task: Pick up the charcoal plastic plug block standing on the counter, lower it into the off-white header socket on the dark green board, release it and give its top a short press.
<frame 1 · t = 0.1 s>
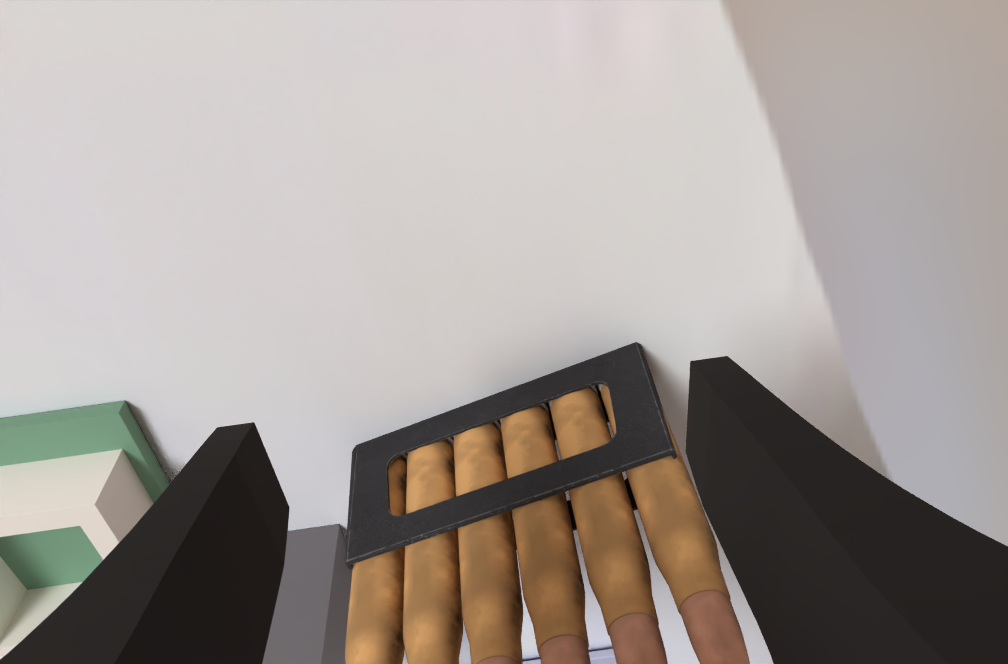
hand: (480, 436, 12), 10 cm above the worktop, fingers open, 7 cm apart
plug: (306, 559, 28), on the worktop
ammunition clip: (500, 410, 25), on the worktop
board: (72, 520, 26), on the worktop
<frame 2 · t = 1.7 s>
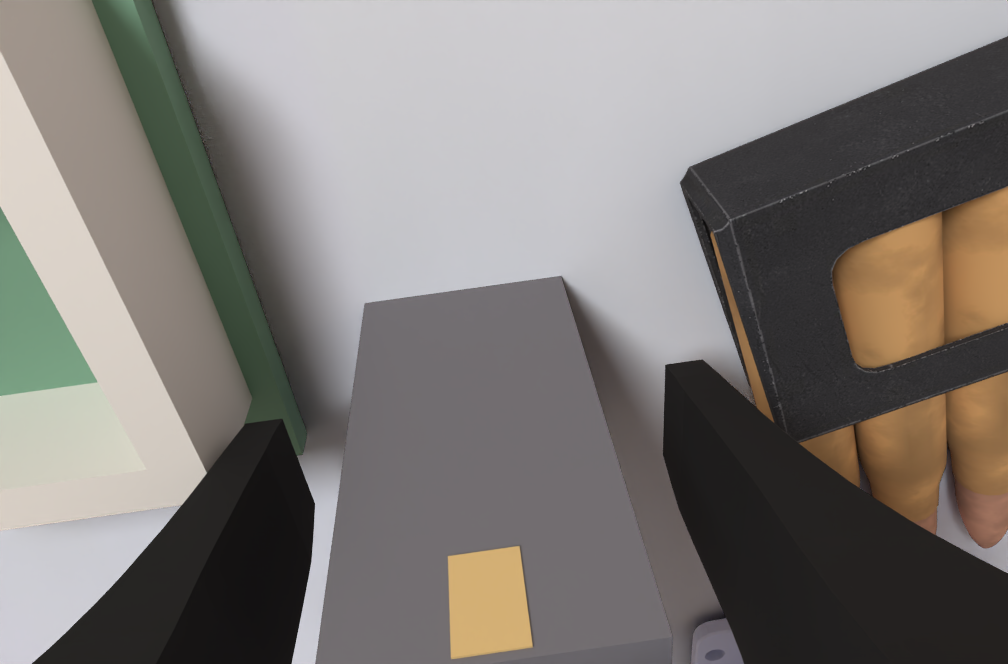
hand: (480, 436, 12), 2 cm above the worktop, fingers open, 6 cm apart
plug: (475, 367, 14), on the worktop
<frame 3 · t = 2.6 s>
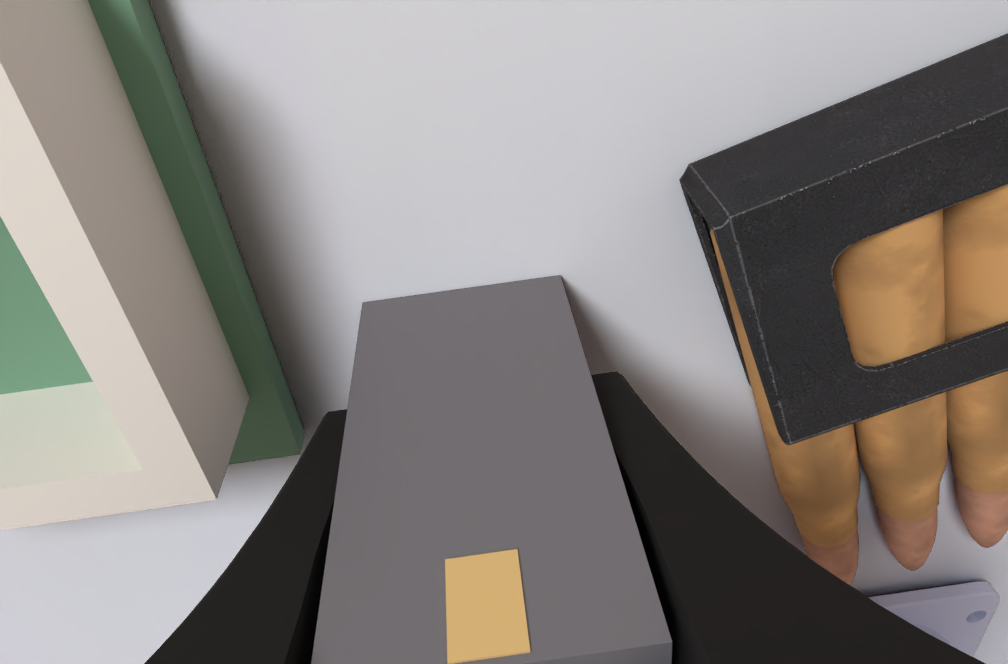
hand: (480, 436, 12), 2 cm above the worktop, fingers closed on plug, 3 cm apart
plug: (474, 367, 14), on the worktop, touching gripper
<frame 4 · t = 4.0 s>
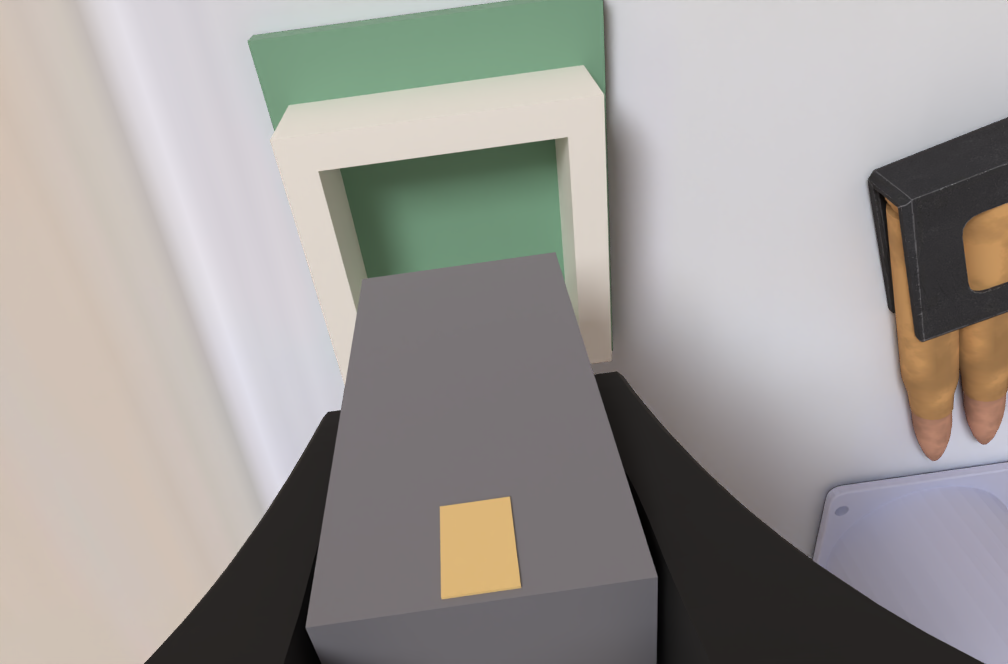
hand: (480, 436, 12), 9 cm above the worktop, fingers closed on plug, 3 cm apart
plug: (472, 344, 14), point 7 cm above the worktop, touching gripper
board: (457, 210, 19), on the worktop
when the fingers open (4 cm above the worktop, at t = 5.7 s): plug stays where it is, resting on board.
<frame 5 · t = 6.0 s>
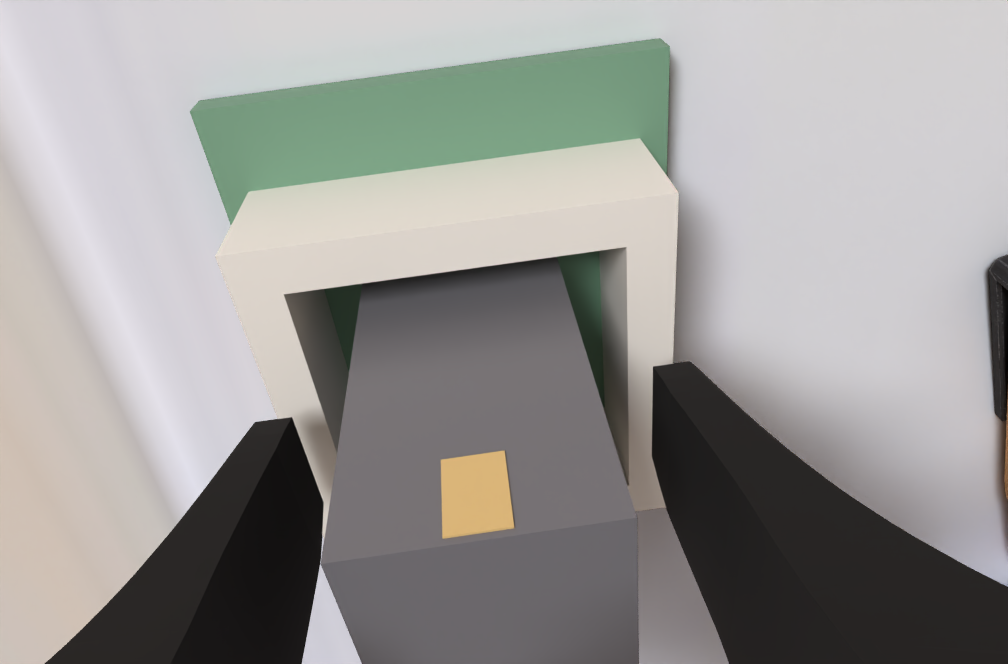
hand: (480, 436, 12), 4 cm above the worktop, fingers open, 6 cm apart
plug: (470, 320, 15), point 1 cm above the worktop, touching board
board: (469, 310, 15), on the worktop
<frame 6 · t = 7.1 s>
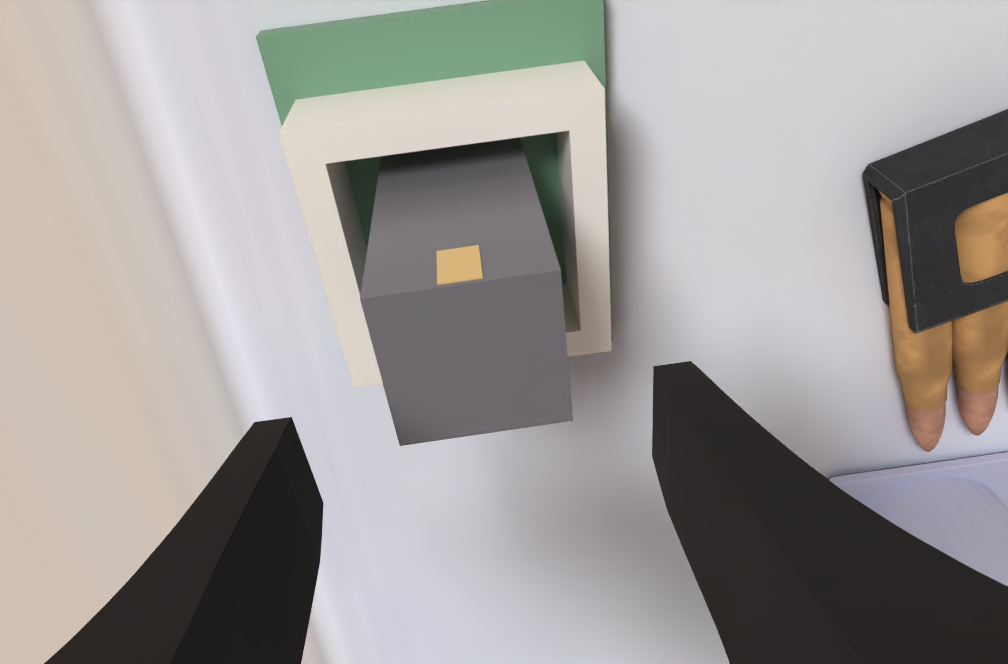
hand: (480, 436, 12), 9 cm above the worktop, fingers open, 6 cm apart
plug: (460, 206, 19), point 1 cm above the worktop, touching board
board: (460, 203, 20), on the worktop
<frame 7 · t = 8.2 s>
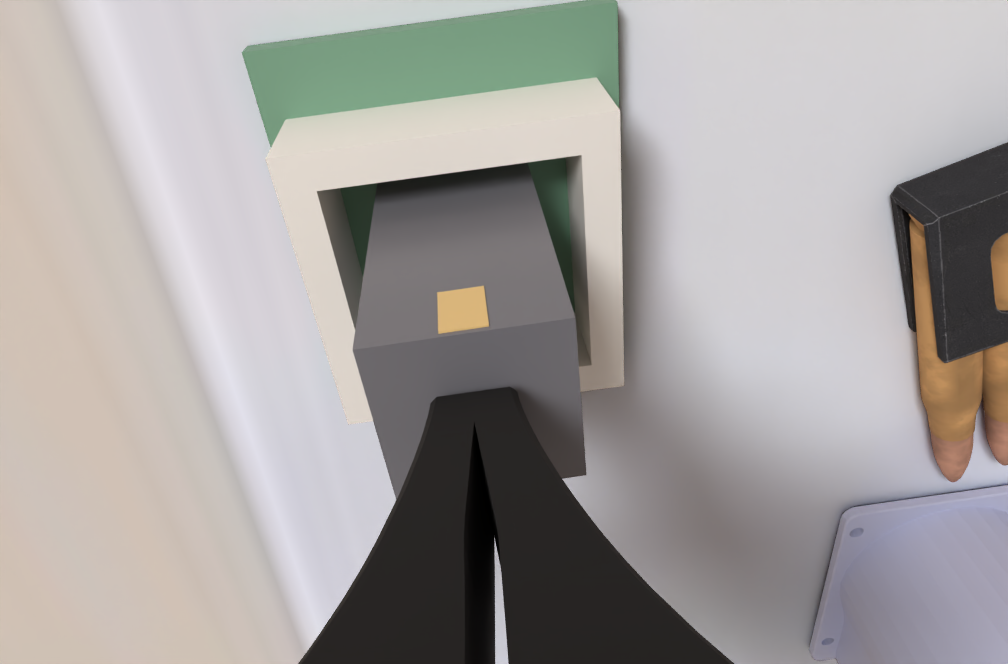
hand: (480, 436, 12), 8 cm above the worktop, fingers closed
plug: (462, 232, 18), point 1 cm above the worktop, touching board
board: (462, 227, 18), on the worktop
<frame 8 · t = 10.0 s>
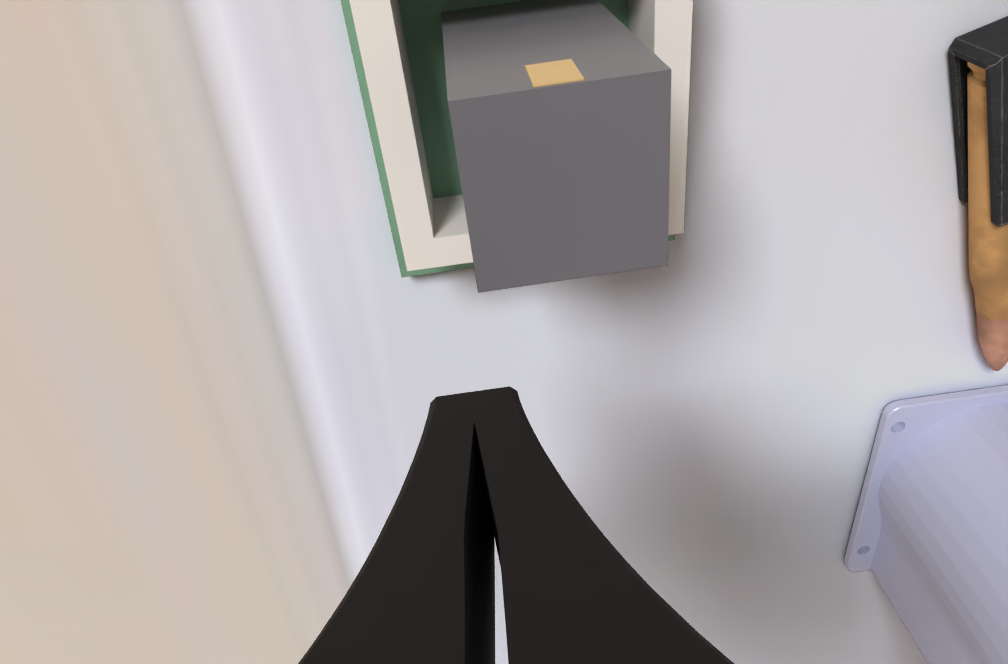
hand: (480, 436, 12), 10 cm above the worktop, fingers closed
plug: (522, 77, 18), point 1 cm above the worktop, touching board
board: (519, 77, 18), on the worktop
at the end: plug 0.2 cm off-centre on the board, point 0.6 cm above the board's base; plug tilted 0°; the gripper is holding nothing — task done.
